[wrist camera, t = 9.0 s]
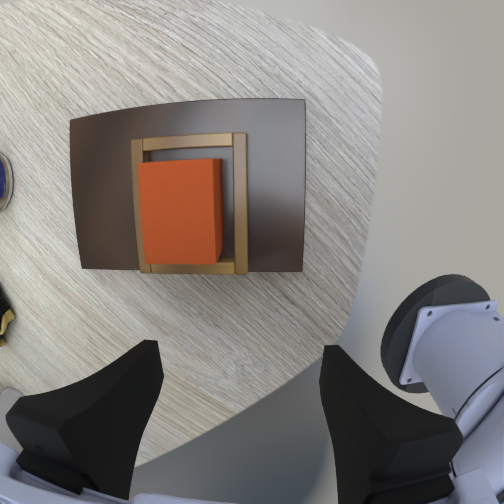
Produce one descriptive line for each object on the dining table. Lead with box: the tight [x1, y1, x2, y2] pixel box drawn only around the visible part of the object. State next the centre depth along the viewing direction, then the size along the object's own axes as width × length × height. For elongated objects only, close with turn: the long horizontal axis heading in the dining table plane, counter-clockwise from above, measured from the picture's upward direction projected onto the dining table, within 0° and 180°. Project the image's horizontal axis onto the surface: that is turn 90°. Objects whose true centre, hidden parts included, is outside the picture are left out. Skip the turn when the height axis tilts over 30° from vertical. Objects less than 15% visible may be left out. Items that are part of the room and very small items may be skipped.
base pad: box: [70, 98, 306, 275], centre depth 19 cm, size 16×11×2 cm
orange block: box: [138, 159, 224, 265], centre depth 17 cm, size 4×6×4 cm
